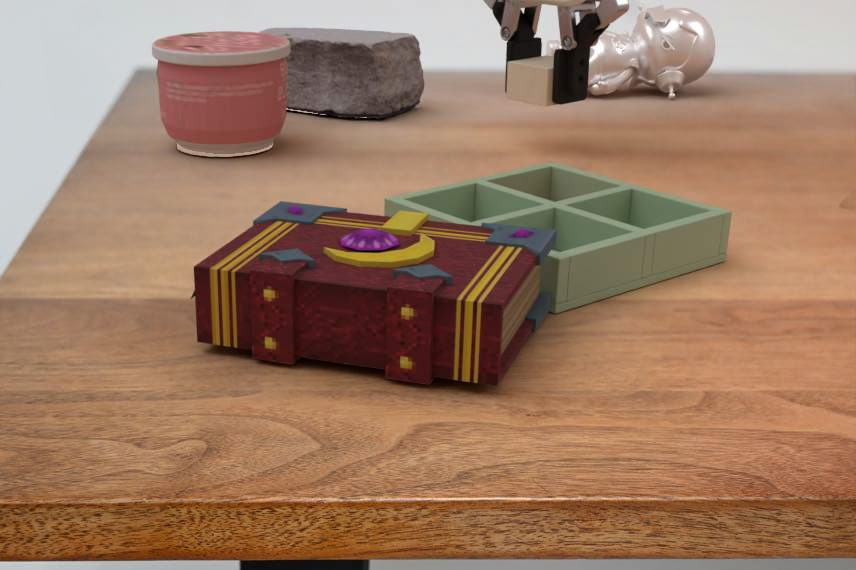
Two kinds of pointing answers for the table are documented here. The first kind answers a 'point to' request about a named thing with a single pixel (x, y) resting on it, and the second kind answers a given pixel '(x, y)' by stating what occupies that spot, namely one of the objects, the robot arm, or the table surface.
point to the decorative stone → (352, 71)
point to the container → (222, 89)
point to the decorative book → (376, 292)
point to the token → (531, 80)
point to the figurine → (651, 52)
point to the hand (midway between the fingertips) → (545, 94)
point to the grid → (585, 227)
